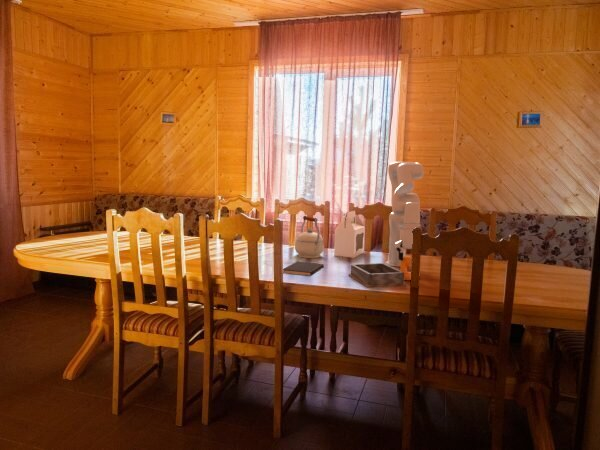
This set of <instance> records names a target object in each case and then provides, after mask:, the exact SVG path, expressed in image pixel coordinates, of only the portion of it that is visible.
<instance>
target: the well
mask: <svg viewBox="0 0 600 450" xmlns="http://www.w3.org/2000/svg"><path fill="white" fill-rule="evenodd" d="M348 277H350V278H352V279H353V280H355V281H356V282H357V283H359V284H361V285H363V286H364V287H366V288H368V289H369V288H385V287H403V286H406V285H407V283H406V282H405V280H404V272H402V271H400V269H397V268H395V267H394V266H390V265H387V264H386V262H385V263H383V262H380V263H379V262H375V263H354V264H350V272H349V273H348Z"/></svg>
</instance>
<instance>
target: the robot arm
mask: <svg viewBox="0 0 600 450" xmlns="http://www.w3.org/2000/svg"><path fill="white" fill-rule="evenodd" d="M424 169H425V168H424V166H423V165H422V164H421V163H420V162H416V161H415V162H414V161H393V162H391V163H390V164H388V178H389V181H390V184H391V210H392V212H390V213H389V215H388V221H389V223H388V224H389V242H388V243H389V245H388V259H387V261H385V264H387V265H389V266H391V267H398V268H400V266H401V261H403V256H406V250H413V249H412V244H413V233H412V231H413V229H414V228H415V227H419V228H420V227H421V226H422V225H421V217H420V216H421V199H420V197H419V195H418V193H415V192H412V191H414V189H415V180H420V179H422V178H423V177H424V175H425V172H424V171H425V170H424Z"/></svg>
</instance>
